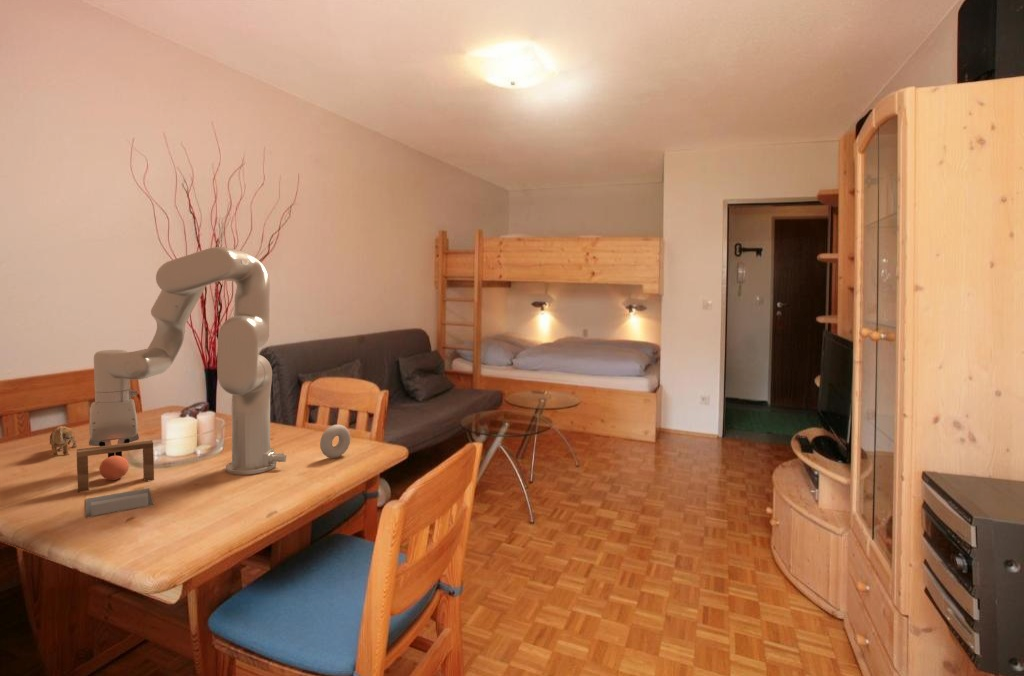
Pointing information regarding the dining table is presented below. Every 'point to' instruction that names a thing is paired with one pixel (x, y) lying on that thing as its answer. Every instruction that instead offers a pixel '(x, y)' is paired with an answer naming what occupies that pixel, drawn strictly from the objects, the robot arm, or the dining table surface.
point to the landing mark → (95, 499)
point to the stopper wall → (119, 504)
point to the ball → (114, 467)
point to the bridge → (85, 452)
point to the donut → (328, 438)
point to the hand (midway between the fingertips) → (115, 464)
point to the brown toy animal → (62, 439)
